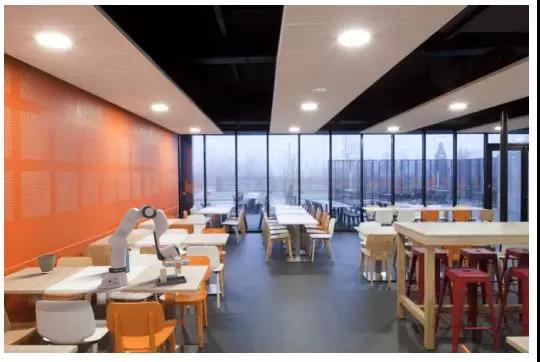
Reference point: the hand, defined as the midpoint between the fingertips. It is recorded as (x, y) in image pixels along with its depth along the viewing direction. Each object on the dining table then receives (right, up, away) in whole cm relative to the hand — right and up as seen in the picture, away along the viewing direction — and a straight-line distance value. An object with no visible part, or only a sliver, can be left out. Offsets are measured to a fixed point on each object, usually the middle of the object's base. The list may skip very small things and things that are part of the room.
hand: (178, 265), depth 308 cm
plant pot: (-133, -18, +49) cm, 142 cm away
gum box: (-63, -15, +44) cm, 78 cm away
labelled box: (0, -7, +1) cm, 7 cm away
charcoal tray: (-5, -14, -1) cm, 15 cm away
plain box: (-11, -13, -3) cm, 17 cm away
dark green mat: (-12, -14, +15) cm, 23 cm away
